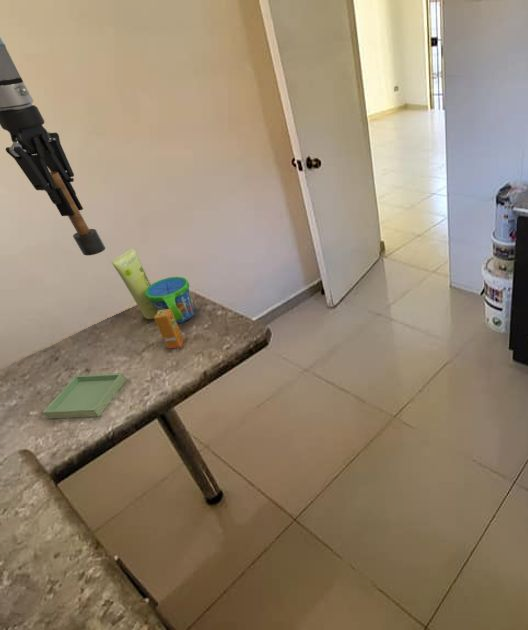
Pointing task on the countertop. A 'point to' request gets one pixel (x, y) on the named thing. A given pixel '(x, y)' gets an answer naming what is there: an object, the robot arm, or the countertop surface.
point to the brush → (80, 224)
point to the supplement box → (169, 328)
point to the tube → (135, 281)
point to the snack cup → (172, 297)
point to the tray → (85, 396)
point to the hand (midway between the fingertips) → (72, 212)
